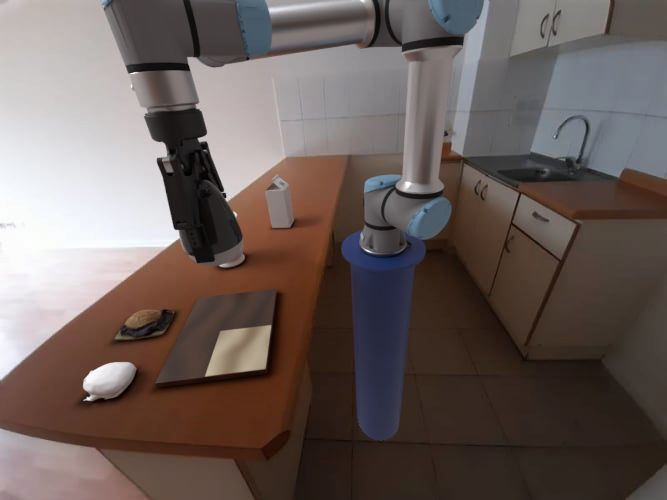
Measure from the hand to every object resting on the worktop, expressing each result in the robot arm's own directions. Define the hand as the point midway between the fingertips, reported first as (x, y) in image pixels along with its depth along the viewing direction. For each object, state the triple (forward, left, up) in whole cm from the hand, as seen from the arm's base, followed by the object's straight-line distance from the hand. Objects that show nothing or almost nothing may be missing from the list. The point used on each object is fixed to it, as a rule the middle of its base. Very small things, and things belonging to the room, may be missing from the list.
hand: (215, 245), depth 50 cm
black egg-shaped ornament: (0, 0, -3) cm, 3 cm away
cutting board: (+3, 0, -22) cm, 22 cm away
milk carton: (-6, -55, -22) cm, 60 cm away
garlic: (+22, +10, -22) cm, 33 cm away
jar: (+9, -31, -22) cm, 40 cm away
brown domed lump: (+23, -5, -22) cm, 33 cm away
